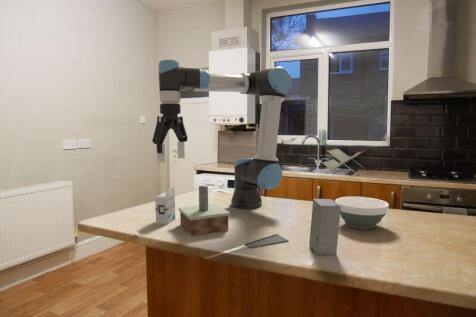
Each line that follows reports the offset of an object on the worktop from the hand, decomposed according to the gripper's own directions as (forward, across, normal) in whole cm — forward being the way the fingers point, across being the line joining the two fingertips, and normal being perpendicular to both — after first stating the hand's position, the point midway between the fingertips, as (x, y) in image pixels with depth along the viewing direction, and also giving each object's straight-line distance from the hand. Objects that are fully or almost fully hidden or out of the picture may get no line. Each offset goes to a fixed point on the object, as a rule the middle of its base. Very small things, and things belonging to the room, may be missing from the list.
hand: (171, 160), depth 126 cm
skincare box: (+26, +3, +57) cm, 63 cm away
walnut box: (+26, -2, +12) cm, 29 cm away
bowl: (+27, -28, +67) cm, 78 cm away
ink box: (+26, -3, -6) cm, 27 cm away
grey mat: (+26, 0, +34) cm, 43 cm away
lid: (+20, -2, +12) cm, 23 cm away
